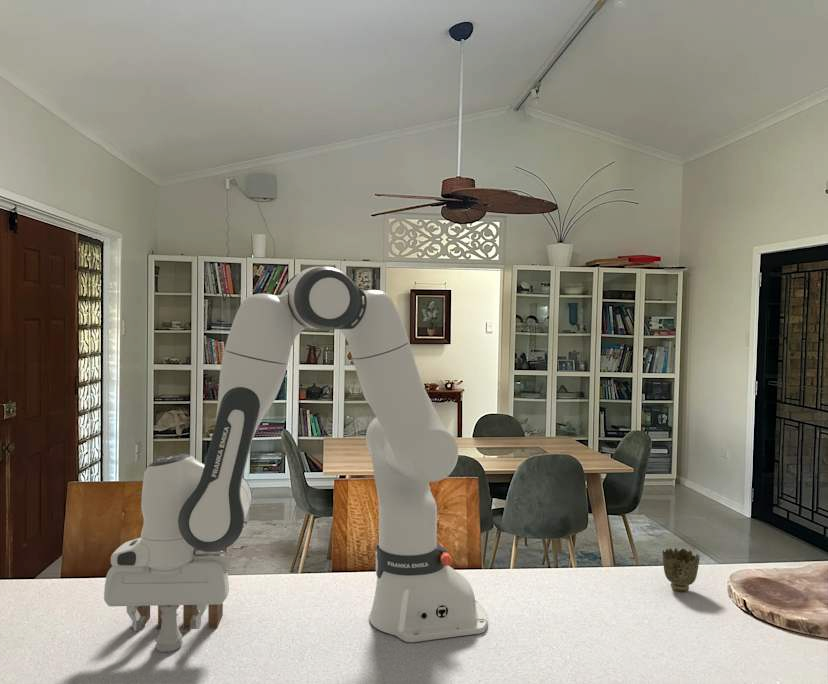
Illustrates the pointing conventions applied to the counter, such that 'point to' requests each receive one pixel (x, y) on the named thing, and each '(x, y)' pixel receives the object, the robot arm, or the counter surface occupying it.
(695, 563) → the cup
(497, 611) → the counter surface
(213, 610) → the domino
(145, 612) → the domino
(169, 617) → the rook chess piece
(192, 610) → the domino
